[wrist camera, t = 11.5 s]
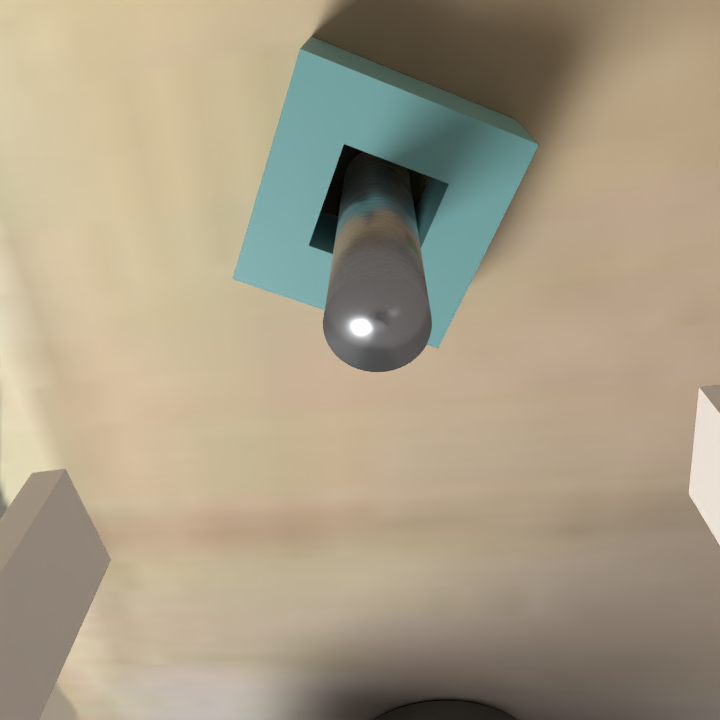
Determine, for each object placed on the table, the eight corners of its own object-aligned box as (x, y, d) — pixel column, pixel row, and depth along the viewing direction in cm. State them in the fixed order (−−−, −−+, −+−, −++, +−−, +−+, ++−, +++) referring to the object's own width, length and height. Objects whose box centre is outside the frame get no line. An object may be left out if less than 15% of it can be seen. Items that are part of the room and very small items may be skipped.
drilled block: (430, 302, 36) (438, 348, 31) (250, 239, 34) (232, 278, 30) (516, 119, 31) (539, 144, 27) (311, 36, 29) (300, 48, 25)
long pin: (394, 223, 34) (407, 384, 21) (334, 201, 33) (308, 353, 20) (419, 163, 32) (449, 297, 19) (357, 138, 31) (344, 260, 19)
